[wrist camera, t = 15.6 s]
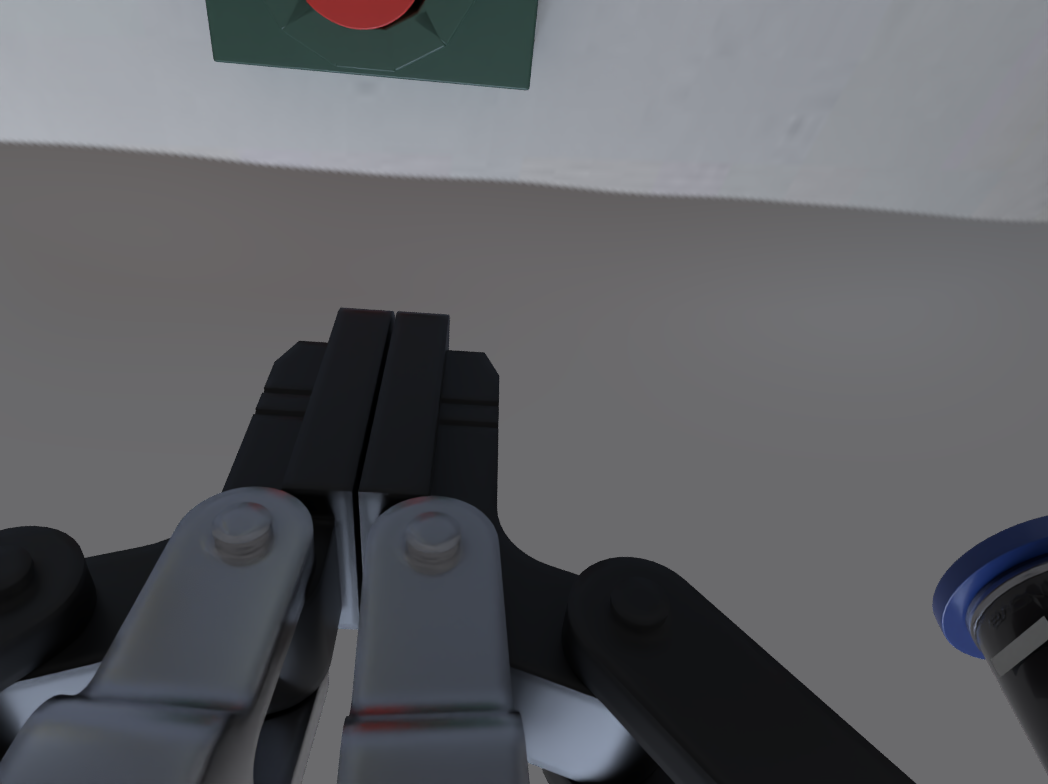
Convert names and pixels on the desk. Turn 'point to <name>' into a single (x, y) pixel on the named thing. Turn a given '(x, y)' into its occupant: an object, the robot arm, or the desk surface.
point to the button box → (384, 40)
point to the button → (361, 12)
